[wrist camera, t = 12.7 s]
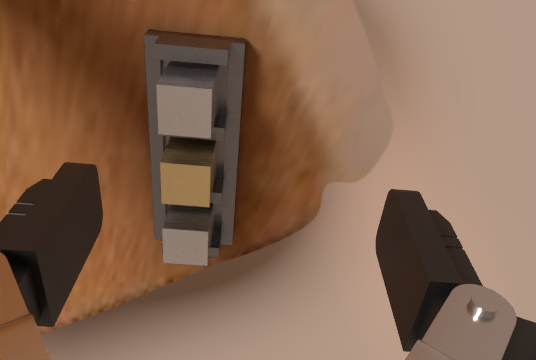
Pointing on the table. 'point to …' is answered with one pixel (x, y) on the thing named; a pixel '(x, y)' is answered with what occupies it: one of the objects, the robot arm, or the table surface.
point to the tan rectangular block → (188, 171)
